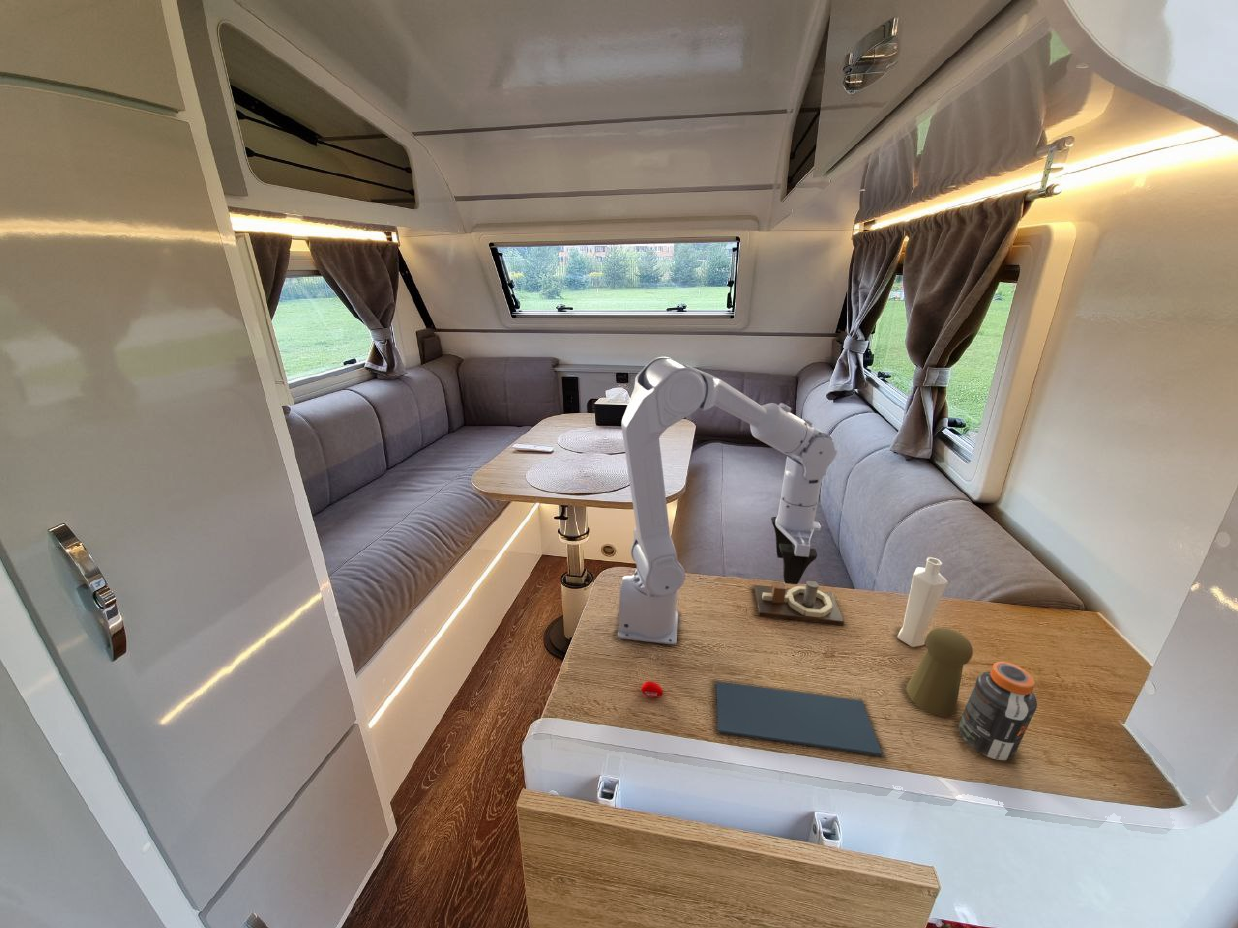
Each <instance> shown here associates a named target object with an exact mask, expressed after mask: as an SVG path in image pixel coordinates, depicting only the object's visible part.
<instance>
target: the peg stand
mask: <svg viewBox="0 0 1238 928" xmlns="http://www.w3.org/2000/svg"><path fill="white" fill-rule="evenodd" d="M753 586H754V587H753V589H754V595H755V601H756V607H757V611H758V616H759V617H765V618H766V617H768V618H774V619H775V618H776V619H784V620H785V619H786V620H795V621H801V622H802V621H804V622H812V623H821V624H830V625H839V626H844V624H845V620H844V618H843V615H842V612H841V610H840V608H839V606H838V603H837V601H836V599H835V596H834V593H833V592H831V591H822V592H823V593H825V594H827V595H828V596H829V597H830V600H831V602H832V605H833V608H832V611H831V612H830V613H828V614H827V615H826V616H824V617H812V616H805V614H804V615H802V614H801V613H799V612H798V611H796V610H794V609H793V608H791V607H790V606H789V604H788V603H787V602H784V604H780V603H772V601H768V600H763V598H762V594H763V592H765V593H771V590H772V585H762V584H761V585H760V584H754V585H753ZM805 586H806V588H805V593H798V594H796V595H795V596H793V597H794V601H795V602H797V603H799V604H800V605H802V606H803V607H805V608H810V609H822V608H823V607H825V604H824V601H823V600H821V599H819V598H818V597H816V596H817V591H818V590H819V583H818V582H817V581H814V580H807V581H806V583H805ZM792 588H793V587H792ZM792 588H790V587H786V592H785V595H787V591H788V590H790V589H792Z"/></svg>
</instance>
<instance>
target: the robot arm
mask: <svg viewBox="0 0 1238 928" xmlns="http://www.w3.org/2000/svg"><path fill="white" fill-rule="evenodd" d="M713 407H717V408H719V409H721V410H722V411H724V412H726V413H728V414H730V415H732V416H734V417H736V418H737V419H739V420H742V421H743V422H745V423H747V424H749V429H750V433H751V435H752V437H754V439H757V440H759V441H760V442H763V443H764V444H766V445H768V446H770V447H771V448H773V449H775V450H776V451H778V452H780V453H781V454H784V455H786V459H785V467H784V472H783V473H784V474H783V480H782V487H781V493H780V498H779V505H778V512H777V516H773V517H771V518H770V520H771V524H772V526H773V530H774V535H775V551H776V556H777V558H778V559H782V564H783V565H782V567H783V568H782V569H783V570H782V571H783V572H782V573H783V574H782V576H783V581H784V584H790V585H798V584H799V582H800V580H801V579H802V577H803V575H804V573H805V571H806V569H807V568H808V567H809V565H811V563H812V562H814V561H815V560H816V559H817V557H818V552H817V551H818V550H817V549H816V548H811V540H812V537H813V534H814V532H820V531H821V529H822V525H821V524H820V522H818V521H815V519H816V514H817V510H818V509H817V508H818V503H819V499H820V494H821V488H822V482H823V479H824V477H825V476H826V475H827V470H828V467H830V465H831V464H832V463H833V461H834V460H835V459H836V457H837V454H838V450H836V449H835V448H836V447H835V442H834V441H833V440H834V439H833V437H832V436H831V435H829V434H828V433H826V432H824V431H822V430H820V429H818V428H816V427H814V426H813V422H812V420H810V419H808V418H803V419H802V418H800V417H799V416H797V415H795V414H793V413H792V412H791V411H792V408H791V407H790V406H788V405H787V404H785V403H783V402H780V403H779V404H777V403H774V402H770V403H766V404H763V405H761V404H759V403H758V402H756V401H755V400H753V399H751V397H748V396H747V395H745V394H744V393H742V392H740V391H739V390H738V389H737V388H735V387H733V386H731V384H729V383H727V382H726V381H724V380H723V379H720V378H719V377H716V376H714V375H713V374H710V373H707V372H705V371H702V370H700V369H697V368H695V367H693V366H690V365H688V364H685V363H683V364H681V363H680V362H678V361H676V359H673V358H672V357H669V356H659V357H655V358H654V359H652V360H650V361H649V362H648V363H647V364H646V365H645V366H644V367H643V368H642V369H641V370H640V372H638V373H637V374H636V376H635V379H634V386H633V390H632V393H631V396H630V398H629V401H628V402H627V405H626V408H625V410H624V413H623V416H622V417H621V418H622V419H621V424H620V425H621V433H622V441H623V447H624V453H625V461H626V467H627V474H628V475H627V476H628V482H629V488H630V494H631V502H632V509H633V515H634V516H633V517H634V520H635V521H634V522H635V529H633V541H632V544H631V546H630V555H631V558H632V560H633V562H635V565H636V569H635V572H634V573H633V574H632V575H623V576H622V578H621V582H620V589H619V599H618V614H617V615H618V632H617V638H619V639H623V640H633V641H640V642H649V643H656V644H657V643H658V644H666V645H672V646H673V645H677V641H678V640H677V639H678V621H679V611H678V610H677V604H678V592H679V590H680V589H681V587H682V586H683V585H684V583H685V579H686V572H685V569H684V567H683V566H682V564H681V563H680V562H679V560H678V554H677V551H676V547H675V544H674V541H673V538H672V535H671V530H670V523H669V522H670V521H669V514H668V513H669V512H668V503H667V497H666V487H665V480H664V479H665V478H664V471H663V470H664V469H663V461H662V451H661V444H660V443H661V442H660V437H661V436H662V435H663V433H664V432H666V430H668V429H669V428H671V427H672V426H674V425H675V424H676V423H679V422H680V421H681V420H684V419H685V418H686V417H688V416H690V415H692V414H693V413H694V412H696V411H697V410H698V409H700V410H702V411H707V410H709V409H711V408H713Z"/></svg>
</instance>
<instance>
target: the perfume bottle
mask: <svg viewBox="0 0 1238 928" xmlns="http://www.w3.org/2000/svg"><path fill="white" fill-rule="evenodd" d="M925 560H926V564H925V567H918V566H917V567H916V568H915V570H914V572H913V575H912V580H911V584H910V590H909V595H908V599H907V605H906V608H905V609H906V610H905V613H904V618H903V619H904V620H903V623H902V627H901V629H900V630H899V633H898V634H897V639H898V640H901V641H902V642H904V643H905V644H907V645H908V646H910V647H912V648H916V647H920V646H924V645H925V646H926V640H925V635H926V633H927V630H928V629H929V626H930V624H931V622H932V620H933V616H934V615H935V613H936V610H937V608H938V605H939V603H940V601H941V599H942V596H943V595H944V592H945V590H946V587H947V586H948V584H949V582H948V580H947V579H946V578H945V577H944V576H943V575H942V573H940V570H941V567H942V565H944V563H943V562H942V561H941V560H940V559H939V558H935V557H931V556H928V557H927V558H926V559H925Z"/></svg>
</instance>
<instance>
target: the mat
mask: <svg viewBox="0 0 1238 928" xmlns="http://www.w3.org/2000/svg"><path fill="white" fill-rule="evenodd" d="M715 691H716V693H715V694H716V714H717V732H718V733H720V734H728V735H733V736H740V737H741V736H742V737H748V738H755V739H761V740H769V741H776V742H782V743H790V744H795V745H803V746H810V747H816V748H823V749H830V750H837V751H844V752H845V751H846V752H851V753H858V754H865V755H871V756H872V755H873V756H879V757H883V754H884V753H883V750H882V748H881V745H880V743H879V741H878V738H877V735H876V733H875V730H874V728H873V725H872V722H871V720H870V717H869V714H868V712H867V709H866V706H865V704H864V702H863V700H861V699H860V700H859V699H854V698H853V699H852V698H844V697H836V696H828V695H822V694H816V693H815V694H814V693H808V692H798V691H793V690H784V689H778V688H777V689H775V688H769V687H761V686H754V685H753V686H752V685H746V684H745V685H744V684H739V683H738V684H737V683H730V682H722V681H715Z"/></svg>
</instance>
